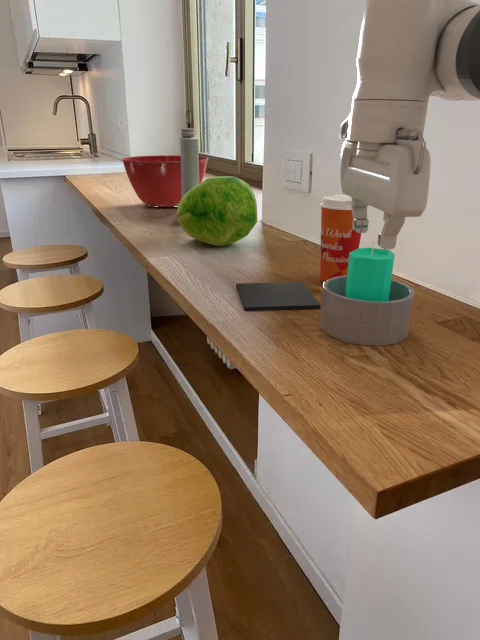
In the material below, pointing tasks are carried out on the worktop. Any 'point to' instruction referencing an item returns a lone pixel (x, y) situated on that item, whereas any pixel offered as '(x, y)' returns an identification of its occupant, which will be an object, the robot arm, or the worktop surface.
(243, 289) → the coaster
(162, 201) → the mixing bowl
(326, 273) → the coffee cup
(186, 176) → the flask
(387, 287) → the candle
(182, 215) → the lettuce
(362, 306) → the tin
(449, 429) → the worktop surface
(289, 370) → the worktop surface
